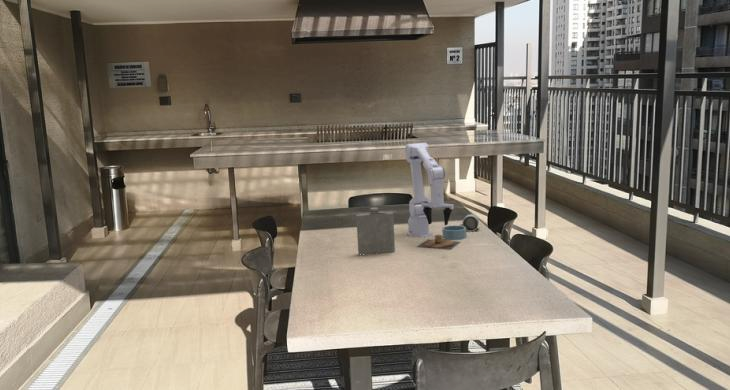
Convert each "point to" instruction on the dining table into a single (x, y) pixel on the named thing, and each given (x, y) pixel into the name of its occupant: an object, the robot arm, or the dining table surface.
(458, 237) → the slate-blue bowl
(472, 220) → the ceramic mug
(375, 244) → the hip flask
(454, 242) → the rubber mat
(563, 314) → the dining table surface
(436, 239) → the walnut cover
